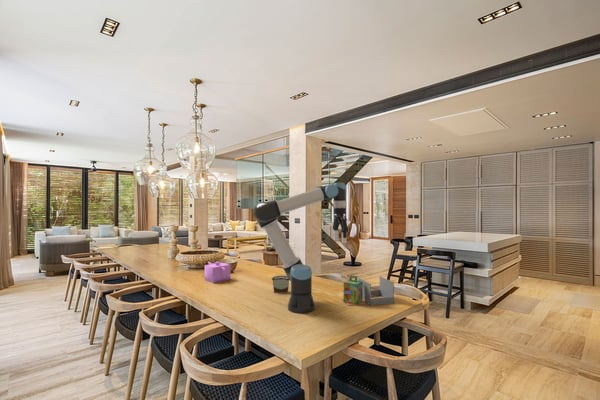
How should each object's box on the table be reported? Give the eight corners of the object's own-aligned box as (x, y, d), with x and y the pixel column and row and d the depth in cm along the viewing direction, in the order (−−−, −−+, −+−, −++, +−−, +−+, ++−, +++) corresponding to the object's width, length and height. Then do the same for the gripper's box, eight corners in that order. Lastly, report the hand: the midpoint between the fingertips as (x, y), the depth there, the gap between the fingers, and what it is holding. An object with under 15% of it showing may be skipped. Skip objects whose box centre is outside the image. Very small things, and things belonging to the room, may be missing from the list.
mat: (348, 305, 170) (348, 305, 170) (341, 299, 181) (341, 299, 181) (366, 304, 173) (366, 303, 173) (358, 298, 184) (358, 297, 184)
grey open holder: (370, 305, 171) (370, 284, 171) (358, 297, 186) (358, 277, 187) (394, 303, 174) (393, 282, 175) (380, 295, 190) (380, 276, 190)
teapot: (217, 275, 249) (217, 258, 249) (233, 280, 231) (233, 262, 231) (200, 278, 238) (200, 261, 239) (216, 284, 221) (216, 265, 221)
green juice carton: (343, 302, 175) (342, 277, 176) (348, 298, 183) (348, 273, 184) (358, 304, 171) (358, 278, 171) (363, 300, 179) (362, 275, 179)
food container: (291, 290, 203) (291, 275, 203) (290, 292, 197) (290, 277, 197) (273, 289, 204) (273, 275, 204) (271, 292, 198) (271, 277, 198)
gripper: (353, 207, 175) (353, 244, 174) (338, 207, 199) (338, 239, 198) (341, 207, 173) (341, 244, 172) (327, 207, 197) (327, 239, 197)
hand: (340, 241), depth 185 cm, fingers open, 13 cm apart
